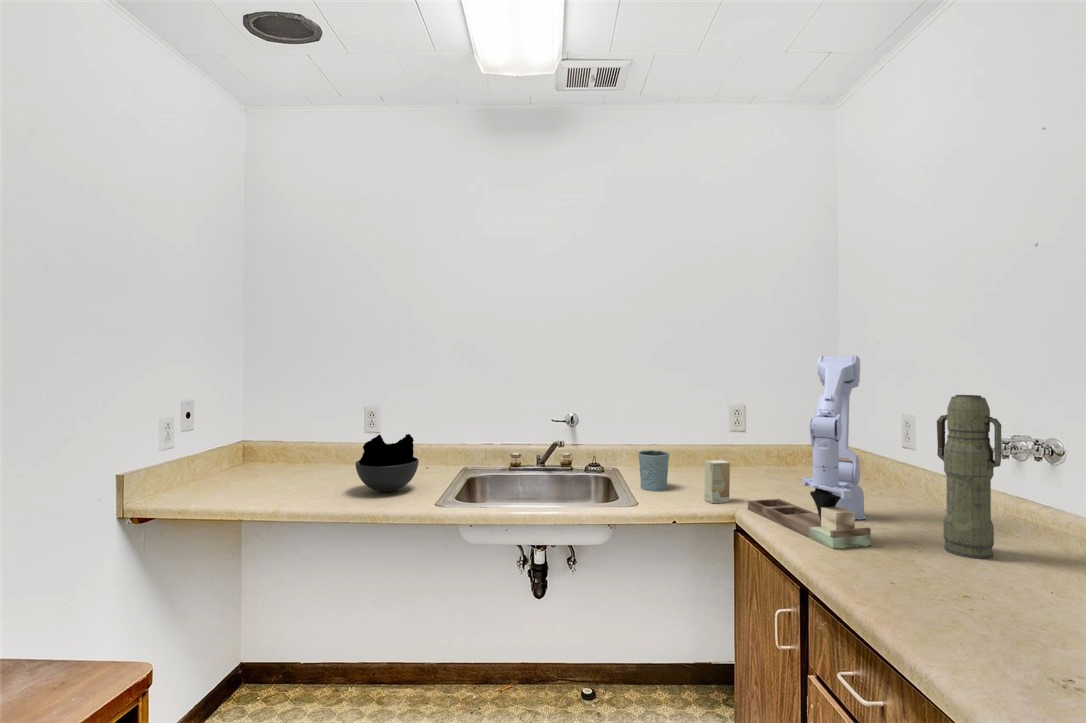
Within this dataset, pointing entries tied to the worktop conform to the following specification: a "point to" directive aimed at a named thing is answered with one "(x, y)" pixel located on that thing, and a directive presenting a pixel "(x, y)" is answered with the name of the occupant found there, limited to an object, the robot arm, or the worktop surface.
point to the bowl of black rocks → (387, 464)
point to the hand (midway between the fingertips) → (825, 521)
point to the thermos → (968, 475)
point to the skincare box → (717, 481)
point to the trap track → (809, 524)
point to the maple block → (837, 518)
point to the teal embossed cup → (653, 470)
